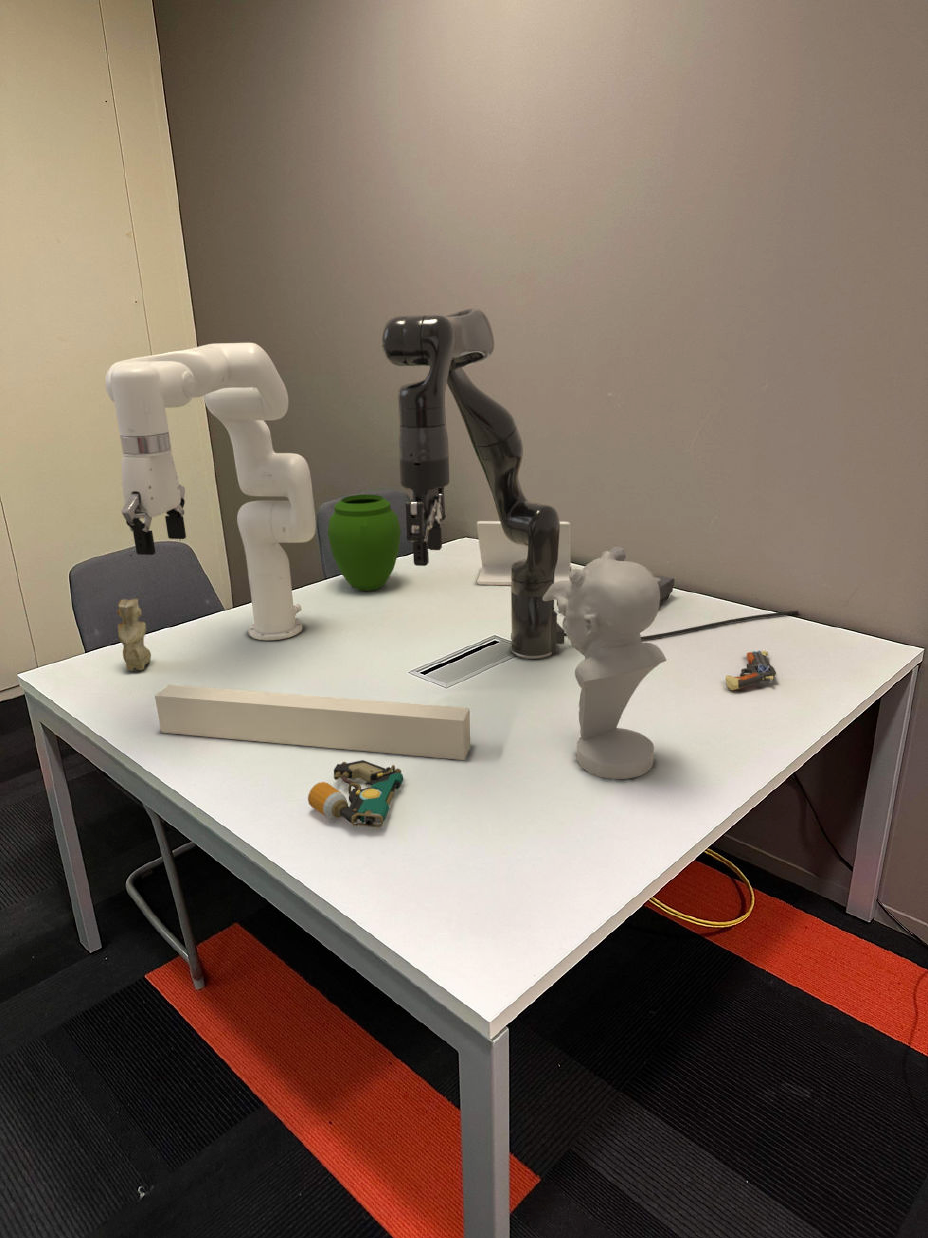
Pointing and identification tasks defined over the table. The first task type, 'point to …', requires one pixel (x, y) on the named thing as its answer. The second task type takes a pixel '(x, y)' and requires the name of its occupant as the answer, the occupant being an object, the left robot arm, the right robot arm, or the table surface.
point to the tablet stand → (514, 554)
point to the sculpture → (132, 635)
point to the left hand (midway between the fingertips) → (162, 546)
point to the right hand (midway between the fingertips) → (428, 557)
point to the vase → (364, 540)
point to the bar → (316, 721)
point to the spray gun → (358, 793)
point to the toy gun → (753, 671)
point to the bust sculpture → (610, 658)
